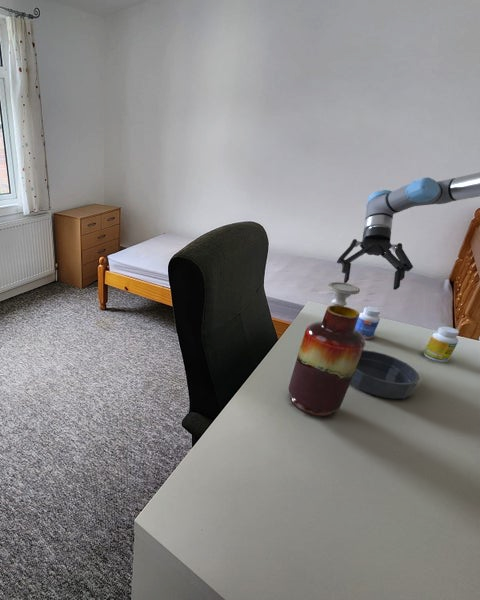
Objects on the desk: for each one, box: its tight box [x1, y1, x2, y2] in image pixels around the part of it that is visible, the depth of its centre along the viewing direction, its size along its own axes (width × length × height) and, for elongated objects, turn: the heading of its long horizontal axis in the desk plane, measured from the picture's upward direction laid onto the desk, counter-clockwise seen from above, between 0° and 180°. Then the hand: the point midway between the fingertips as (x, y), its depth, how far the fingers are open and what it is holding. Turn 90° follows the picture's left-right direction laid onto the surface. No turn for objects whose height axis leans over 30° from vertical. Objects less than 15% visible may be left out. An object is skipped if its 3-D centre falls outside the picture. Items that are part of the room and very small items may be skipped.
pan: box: [350, 349, 421, 400], centre depth 91 cm, size 15×15×5 cm
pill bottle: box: [355, 306, 381, 340], centre depth 111 cm, size 6×5×10 cm
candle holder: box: [321, 281, 361, 321], centre depth 104 cm, size 9×9×20 cm
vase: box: [288, 304, 366, 418], centre depth 79 cm, size 11×11×26 cm
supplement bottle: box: [423, 325, 460, 363], centre depth 99 cm, size 5×5×10 cm
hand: (370, 284), depth 115 cm, fingers open, 13 cm apart
